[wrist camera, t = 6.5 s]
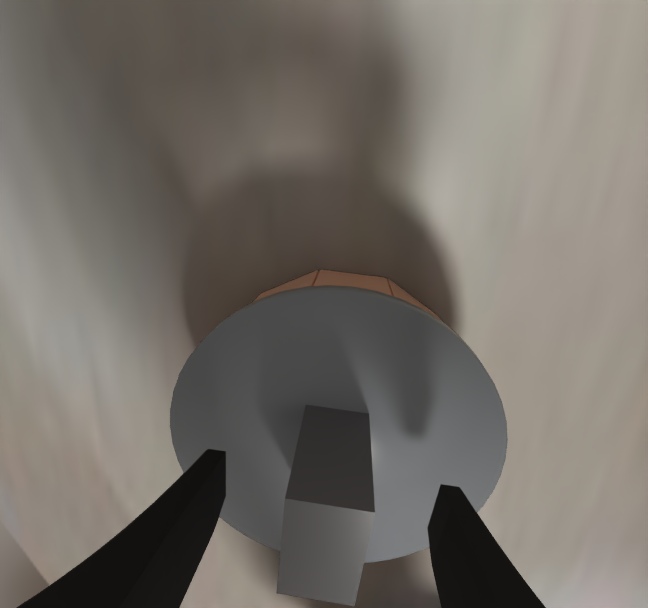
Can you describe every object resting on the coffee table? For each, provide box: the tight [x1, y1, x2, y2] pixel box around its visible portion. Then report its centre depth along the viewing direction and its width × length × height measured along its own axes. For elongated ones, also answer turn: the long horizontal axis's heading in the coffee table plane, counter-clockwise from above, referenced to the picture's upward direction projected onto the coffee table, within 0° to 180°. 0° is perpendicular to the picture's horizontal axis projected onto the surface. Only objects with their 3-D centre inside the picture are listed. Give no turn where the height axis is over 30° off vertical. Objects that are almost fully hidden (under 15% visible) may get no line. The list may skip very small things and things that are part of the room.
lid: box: [170, 285, 507, 606], centre depth 12 cm, size 13×13×5 cm
